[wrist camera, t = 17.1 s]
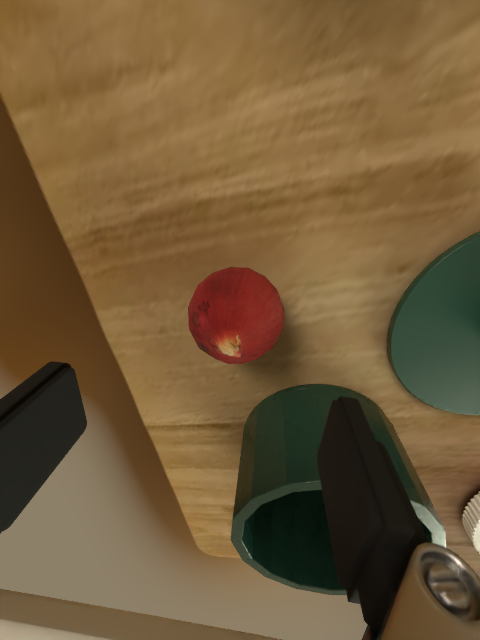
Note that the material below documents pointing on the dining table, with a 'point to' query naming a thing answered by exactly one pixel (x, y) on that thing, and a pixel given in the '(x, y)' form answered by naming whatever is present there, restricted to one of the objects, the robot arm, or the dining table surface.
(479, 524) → the plastic lid
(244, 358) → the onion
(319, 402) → the pot
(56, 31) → the dining table surface
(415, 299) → the lid
